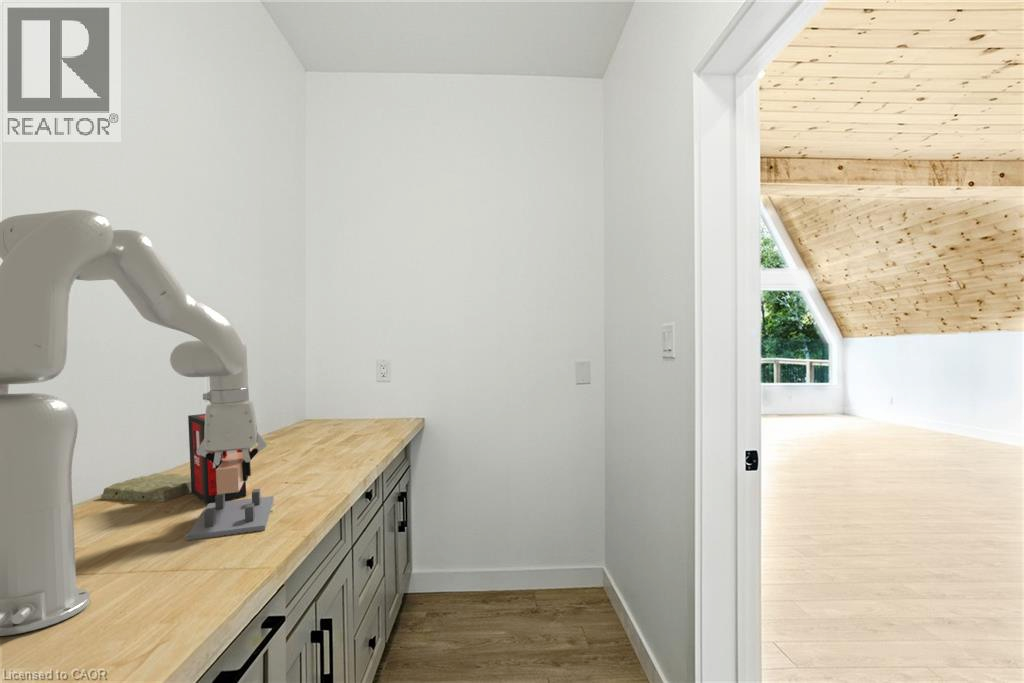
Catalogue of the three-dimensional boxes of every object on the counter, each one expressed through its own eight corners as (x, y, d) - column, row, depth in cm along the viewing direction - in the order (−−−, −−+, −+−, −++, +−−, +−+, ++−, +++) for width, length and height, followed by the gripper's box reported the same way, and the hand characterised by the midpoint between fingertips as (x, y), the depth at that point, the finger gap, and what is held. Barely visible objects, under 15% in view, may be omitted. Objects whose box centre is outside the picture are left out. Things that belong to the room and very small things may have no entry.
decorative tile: (154, 484, 165) (153, 471, 165) (215, 485, 160) (215, 472, 160) (94, 502, 146) (93, 488, 146) (162, 504, 142) (161, 490, 142)
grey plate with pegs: (264, 530, 117) (264, 510, 117) (186, 540, 113) (186, 520, 113) (273, 500, 140) (272, 483, 140) (209, 507, 136) (208, 490, 136)
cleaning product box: (246, 496, 145) (242, 416, 144) (206, 504, 139) (203, 420, 139) (228, 485, 157) (225, 411, 157) (191, 492, 151) (188, 415, 151)
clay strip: (238, 491, 119) (237, 467, 119) (217, 494, 117) (215, 469, 117) (248, 472, 136) (247, 451, 136) (229, 474, 135) (228, 453, 134)
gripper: (182, 401, 120) (187, 490, 120) (270, 395, 125) (274, 480, 126) (190, 398, 127) (194, 481, 128) (272, 392, 133) (276, 472, 133)
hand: (233, 480), depth 127 cm, fingers closed on clay strip, 4 cm apart
